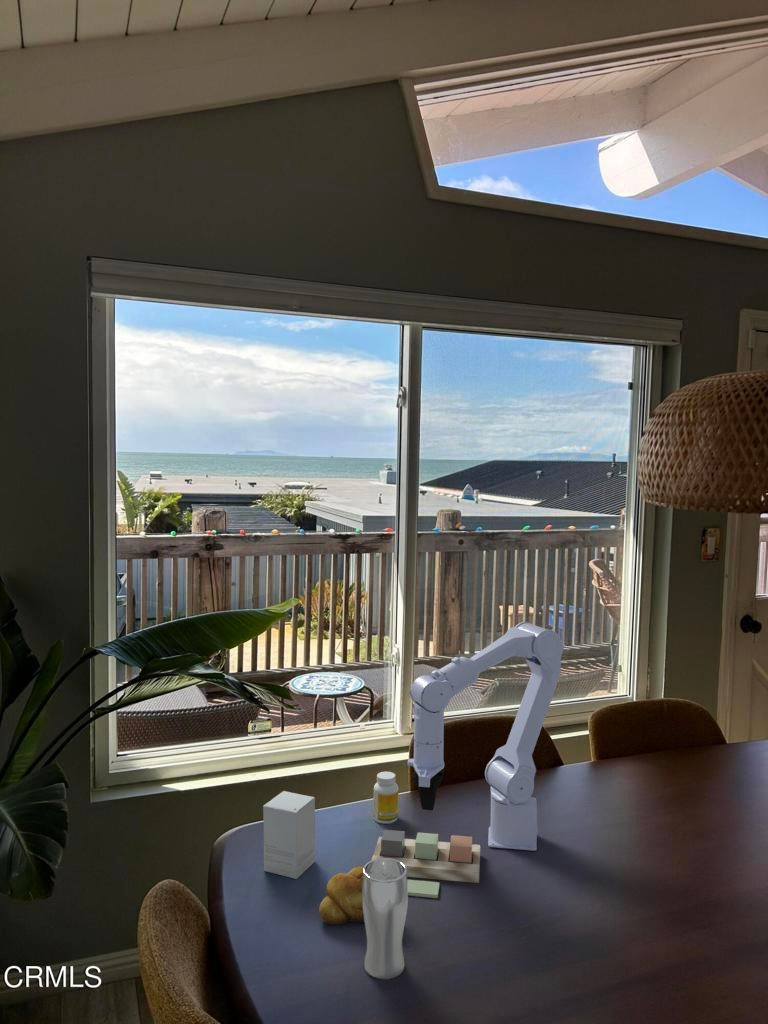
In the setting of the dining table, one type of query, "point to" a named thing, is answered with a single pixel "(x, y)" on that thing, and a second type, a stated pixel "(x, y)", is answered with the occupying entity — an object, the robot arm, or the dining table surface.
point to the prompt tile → (423, 888)
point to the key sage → (426, 846)
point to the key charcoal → (393, 843)
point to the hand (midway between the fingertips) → (427, 808)
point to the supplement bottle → (385, 798)
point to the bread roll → (343, 898)
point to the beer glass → (384, 916)
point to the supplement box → (289, 834)
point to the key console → (436, 863)
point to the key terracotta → (461, 849)
